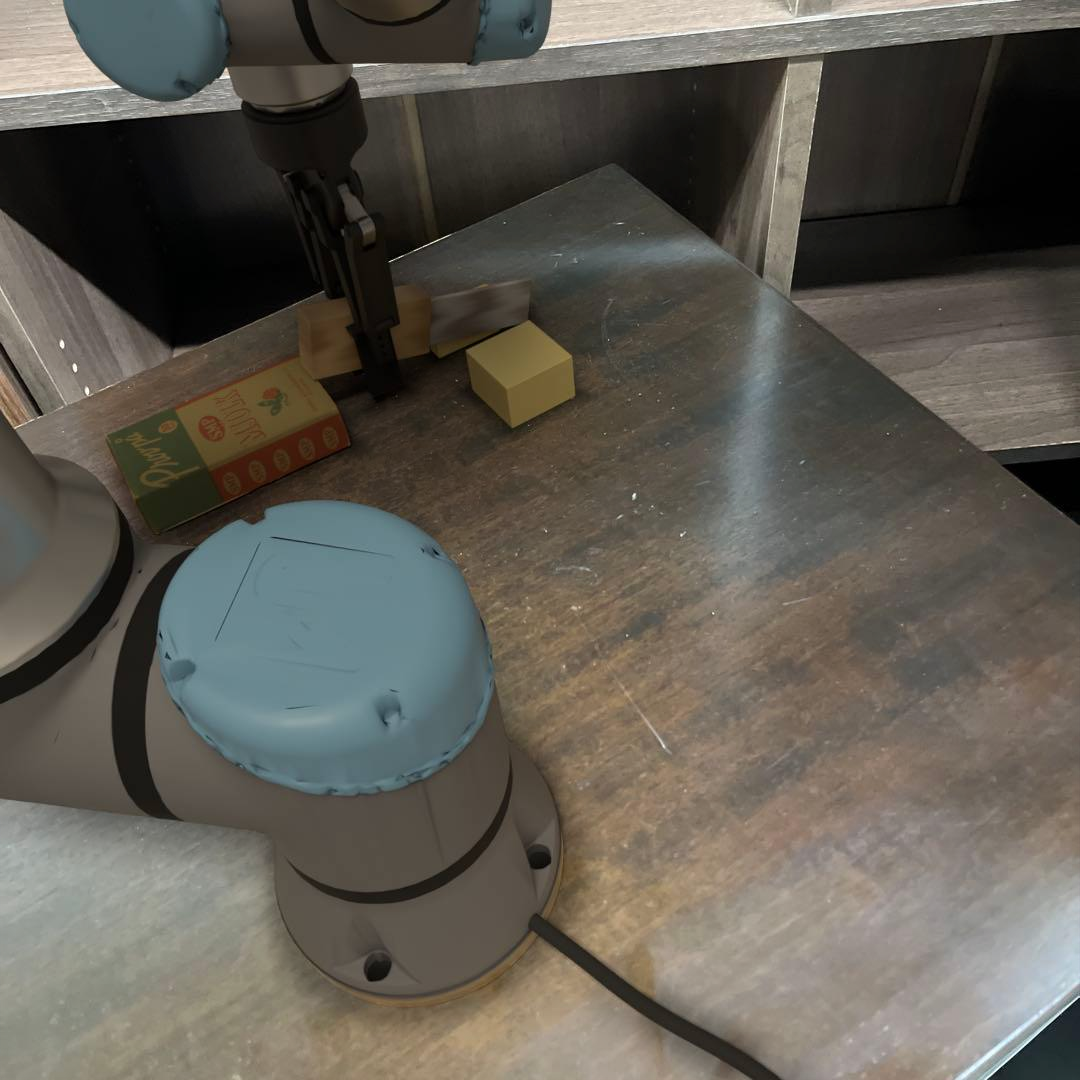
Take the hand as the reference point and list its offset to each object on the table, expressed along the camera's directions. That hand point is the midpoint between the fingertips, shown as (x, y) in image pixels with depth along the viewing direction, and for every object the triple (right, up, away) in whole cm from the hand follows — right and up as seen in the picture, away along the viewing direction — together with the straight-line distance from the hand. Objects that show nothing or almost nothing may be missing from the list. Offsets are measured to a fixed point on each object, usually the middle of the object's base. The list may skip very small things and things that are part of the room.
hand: (377, 377), depth 80 cm
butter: (+12, -1, -1) cm, 12 cm away
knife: (+4, +3, +1) cm, 5 cm away
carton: (-10, -7, -3) cm, 13 cm away
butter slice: (+7, +4, +4) cm, 9 cm away
